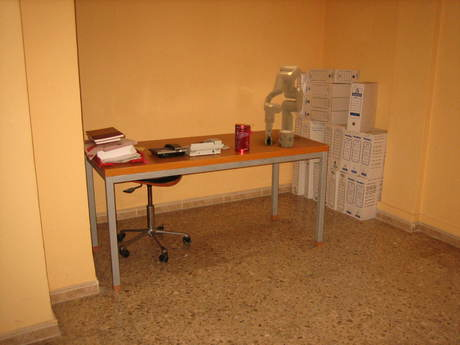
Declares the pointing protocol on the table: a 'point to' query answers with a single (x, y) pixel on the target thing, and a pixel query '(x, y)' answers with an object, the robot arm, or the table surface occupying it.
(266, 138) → the sage block
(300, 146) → the table surface
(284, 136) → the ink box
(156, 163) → the table surface
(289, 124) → the robot arm
